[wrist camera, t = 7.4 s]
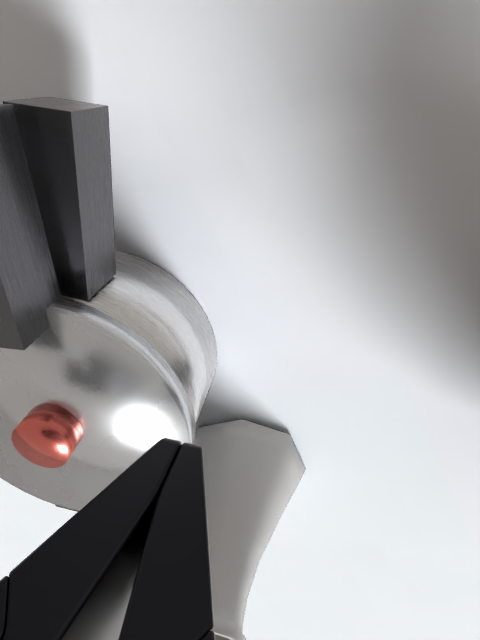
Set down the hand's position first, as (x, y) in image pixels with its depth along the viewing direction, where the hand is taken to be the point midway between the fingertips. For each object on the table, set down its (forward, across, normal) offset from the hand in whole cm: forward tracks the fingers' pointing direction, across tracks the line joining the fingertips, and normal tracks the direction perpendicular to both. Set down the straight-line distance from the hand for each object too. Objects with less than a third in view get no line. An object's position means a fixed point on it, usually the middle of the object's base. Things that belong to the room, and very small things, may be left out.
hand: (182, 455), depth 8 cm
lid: (+7, +7, +4) cm, 11 cm away
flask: (+12, -1, +14) cm, 19 cm away
